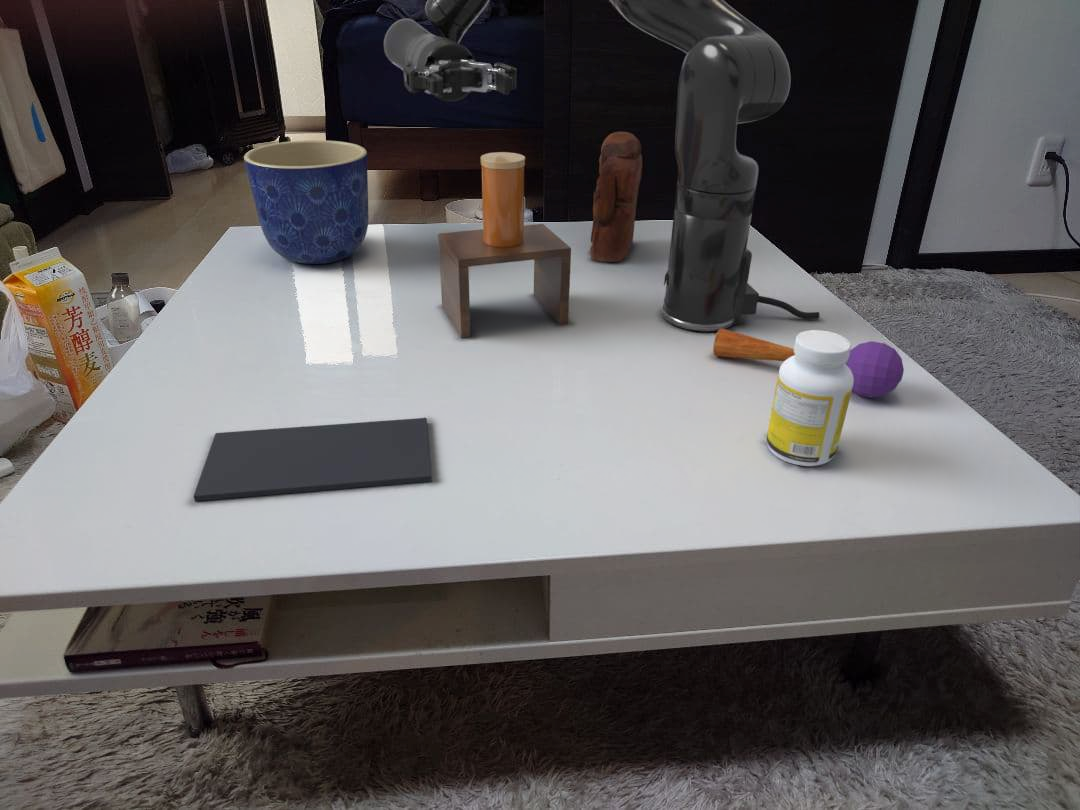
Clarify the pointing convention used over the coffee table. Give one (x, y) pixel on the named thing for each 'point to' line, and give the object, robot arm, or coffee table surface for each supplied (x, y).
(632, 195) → the wooden figurine
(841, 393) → the pill bottle
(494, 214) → the jar
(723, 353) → the purple and wooden maraca
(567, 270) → the shelf
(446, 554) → the coffee table surface
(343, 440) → the mat
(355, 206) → the planter
